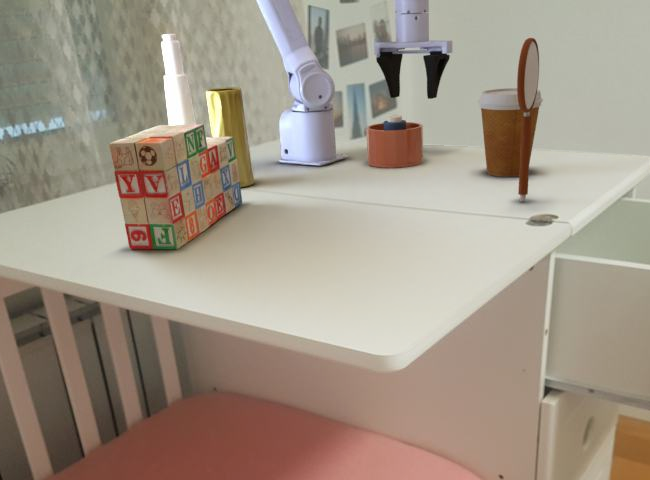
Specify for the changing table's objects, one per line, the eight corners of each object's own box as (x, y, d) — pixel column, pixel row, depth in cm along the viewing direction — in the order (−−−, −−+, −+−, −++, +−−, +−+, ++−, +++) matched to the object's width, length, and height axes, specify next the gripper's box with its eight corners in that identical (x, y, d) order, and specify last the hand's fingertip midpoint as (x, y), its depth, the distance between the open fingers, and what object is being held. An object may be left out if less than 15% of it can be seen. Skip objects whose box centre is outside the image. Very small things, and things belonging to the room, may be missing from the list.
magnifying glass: (521, 210, 91) (529, 39, 82) (508, 209, 92) (514, 40, 83) (536, 194, 98) (544, 35, 89) (523, 193, 99) (531, 36, 90)
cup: (357, 165, 122) (355, 129, 119) (386, 155, 129) (385, 121, 126) (405, 169, 117) (404, 131, 114) (432, 159, 124) (432, 123, 121)
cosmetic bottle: (205, 172, 123) (186, 32, 113) (212, 178, 117) (191, 33, 108) (170, 176, 121) (147, 35, 111) (174, 183, 116) (151, 35, 106)
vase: (220, 181, 116) (208, 87, 110) (257, 179, 115) (247, 86, 109) (212, 189, 110) (198, 92, 104) (251, 188, 110) (240, 90, 104)
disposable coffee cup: (486, 165, 117) (489, 87, 112) (545, 167, 113) (550, 87, 108) (468, 177, 109) (469, 94, 104) (530, 180, 105) (534, 95, 100)
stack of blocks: (202, 203, 102) (189, 113, 97) (243, 203, 101) (232, 112, 96) (128, 249, 83) (107, 141, 78) (178, 250, 82) (159, 140, 77)
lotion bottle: (380, 160, 122) (378, 117, 119) (392, 156, 125) (390, 114, 122) (399, 161, 120) (398, 118, 117) (410, 157, 123) (410, 115, 120)
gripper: (460, 11, 121) (460, 95, 127) (388, 14, 128) (390, 94, 134) (441, 12, 116) (441, 100, 121) (366, 16, 123) (369, 98, 129)
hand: (413, 97), depth 127 cm, fingers open, 7 cm apart
